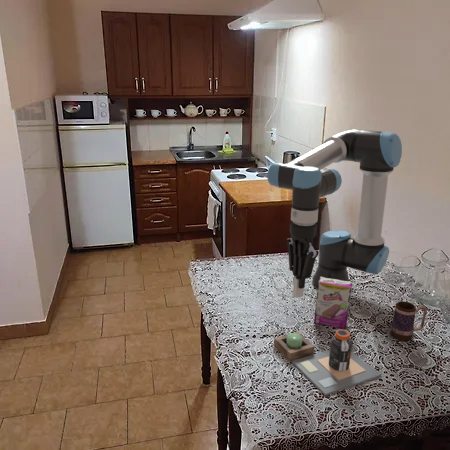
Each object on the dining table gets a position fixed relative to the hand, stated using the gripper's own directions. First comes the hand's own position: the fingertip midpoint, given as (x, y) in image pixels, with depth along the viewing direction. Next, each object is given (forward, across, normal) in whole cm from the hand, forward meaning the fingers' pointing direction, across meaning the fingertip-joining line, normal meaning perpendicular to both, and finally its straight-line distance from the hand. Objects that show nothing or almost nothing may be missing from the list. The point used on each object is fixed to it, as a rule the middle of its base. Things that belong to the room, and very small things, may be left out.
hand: (298, 296), depth 129 cm
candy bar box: (+20, -8, +21) cm, 30 cm away
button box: (+19, 0, 0) cm, 19 cm away
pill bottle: (+19, +13, +7) cm, 24 cm away
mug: (+20, +9, +39) cm, 44 cm away
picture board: (+19, +13, +6) cm, 24 cm away
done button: (+19, 0, 0) cm, 19 cm away
